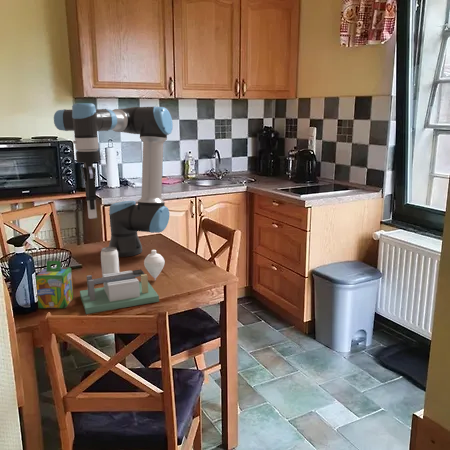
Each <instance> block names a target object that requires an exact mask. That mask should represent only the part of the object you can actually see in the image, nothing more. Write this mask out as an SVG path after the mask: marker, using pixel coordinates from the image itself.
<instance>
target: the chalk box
mask: <svg viewBox="0 0 450 450" xmlns="http://www.w3.org/2000/svg"><path fill="white" fill-rule="evenodd" d="M52 265H56V266H52ZM72 274H73V273H72V268H71V267H69V266H62V262H61V260H47V261H46V267H43V269H42V270H40V271H39V272H38V273H37V275H35V283H36V295H37V296H36V297H37V306H38V307H37V308H38V309H66V308H67V307H68V305H69V304H70V303H71V301H72V300H73V299H74V287H73V277H72Z"/></svg>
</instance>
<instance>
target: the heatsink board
mask: <svg viewBox="0 0 450 450" xmlns="http://www.w3.org/2000/svg"><path fill="white" fill-rule="evenodd" d="M132 271H133V270H126V271H125V270H124V271H119V272H117V273H110V274H103V277H108V276H114V275H120V274H126V273H131V272H132ZM148 278H149V277H148V274H147V273H146V274H145V273H144V274H143V275H141V276H140V281H139V278H138V277H133V278H128V279H122V280H116V281H111V282H105V283H103V287H97V288H95V284H94V280H89V279H93V277H92V275H91V274H89V275H86V284H87V289H85V290H84V289H83V290H79V296H80V300H81V303H82V305H83V308H84V309H83V310H84V312H85V314H86V315H89V314H94V313H101V312H106V311H113V310H117V309H123V308H129V307H134V306H140V305H146V304H152V303H153V304H154V303H157V302H160V296H159V294H158V293H157V291H156V290H155V289H154V288H153V286H152V284H150V282H149V279H148Z"/></svg>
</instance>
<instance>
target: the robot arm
mask: <svg viewBox="0 0 450 450" xmlns="http://www.w3.org/2000/svg"><path fill="white" fill-rule="evenodd" d="M71 107H72V108H71V109H58V110H56V111H55V112H54V115H53V123H54V127H55V128H56V129H57V130H59V131H63V132H73V133H74V134H73V135H74V136H73V137H74V140H72V144H74V145H75V150H76V151H75V159H76V163H79V164H83V166H82V167H81V171H82V174H83V179H84V180H83V181H84V187H85V188H84V190H85V197H86V198H85V202H87V203H86V204H87V215H88V216H87V217H88V219H91V220H92V219H98V214H97V213H98V212H97V202H96V200H97V190H96V185H97V184H96V175H97V174H96V167H95V166H94V163H98V162H99V161H100V153H99V152H100V151H98V149H99V137H98V132H104V131H105V132H109V131H113V132H114V133H126V134H133V135H139V138H140V140H141V141H142V165H141V166H142V169H141V170H142V172H141V196H140V198H139V199H138V201H137V202H136V201H135V200H125V201H118V202H115V203H112V204H110V205H109V214H108V215H109V224H110V240H109V244H108V247H116V248H117V251H118V258H123V257H124V258H126V257H132V256H133V257H134V256H137V255H140V254H141V253H142V252H143V245H142V243H141V241H140V238H139V236H138V232H143V233H151V234H152V233H157V234H158V233H162V232H164V231H165V229H166V228H167V226H168V223H169V220H170V209H169V207H167V206H165V204H166V203H165V200H163V199H162V191H163V190H162V189H163V188H162V186H163V157H164V156H163V155H164V143H165V142H166V141H168V136H169V135H171V134H172V131H173V126H174V125H173V124H174V123H173V119H172V115H171V113H170V111H169V110H168V108H166V107H164V106H156V105H155V106H133V107H126V108H115V109H112V110H111V109H107V108H100V109H99V108H98V109H97V108H96V105H95V104H94V103H91V102H89V103H86V102H85V103H74V104H72V106H71Z"/></svg>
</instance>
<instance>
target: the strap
mask: <svg viewBox="0 0 450 450" xmlns="http://www.w3.org/2000/svg"><path fill="white" fill-rule="evenodd" d="M143 274H145V272H144V271H143V270H142V269H141V268H140V269H135V270H132V272H131V273H126V274H120V275H114V276H108V277H103V278H102V277H99V278H92V279H89V280H94V285H97V284H104V283H105V282H111V281H116V280H122V279H128V278H133V277H135V278H138V277H139V278H140V277H141V275H143Z"/></svg>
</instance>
